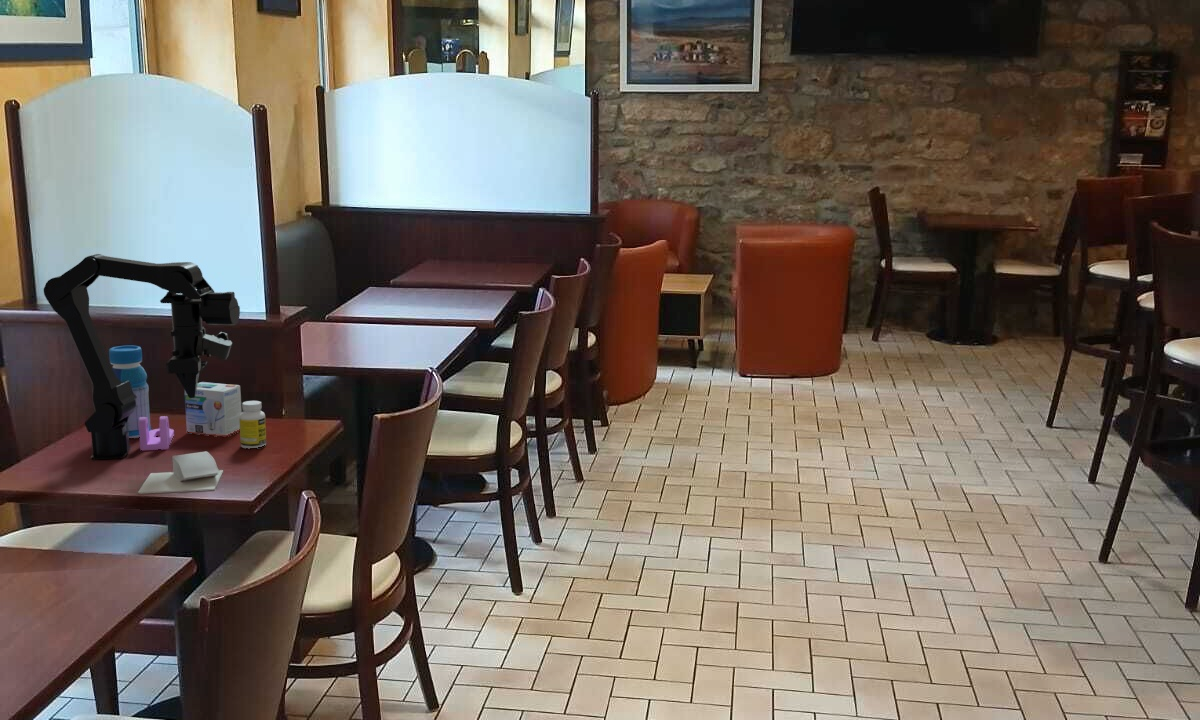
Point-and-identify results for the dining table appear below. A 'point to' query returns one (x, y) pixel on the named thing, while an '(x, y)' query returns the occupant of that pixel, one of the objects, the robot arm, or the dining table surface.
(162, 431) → the bracket
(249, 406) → the supplement bottle
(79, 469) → the dining table surface
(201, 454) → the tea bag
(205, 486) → the mat
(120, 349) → the beverage bottle
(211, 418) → the light bulb box
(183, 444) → the dining table surface
